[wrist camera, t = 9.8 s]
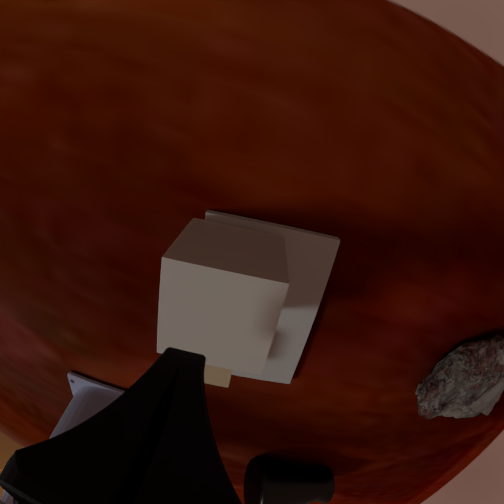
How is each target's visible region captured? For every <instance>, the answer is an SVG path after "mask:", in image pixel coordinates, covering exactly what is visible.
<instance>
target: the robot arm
mask: <svg viewBox="0 0 504 504" xmlns="http://www.w3.org/2000/svg"><path fill="white" fill-rule="evenodd" d="M205 363H206V357H205V356H204V355H202V354H197V353H193V352H189V351H185V350H180V349H176V348H172V347H168V348H166V350H165V351H164V352H163V353H162V355H161V356H160V357H159V358H158V359H157V361H156V362H155V363H154V364H153V365H152V366H151V367H150V368H149V369H148V370H147V371H146V372H145V373H144V374H143V375H142V376H141V377H140V378H139V379H138V380H137V381H136V382H135V383H134V384H133V385H132V386H131V387H130V388H129V389H127V390H126V391H123V390H120V389H117V388H114V387H111V386H108V385H105V384H103V383H100V382H97V381H94V380H91V379H89V378H86V377H83V376H81V375H78V374H76V373H73V372H69V373H68V375H67V376H68V380H69V383H70V387H71V390H72V393H73V398H72V400H71V402H70V403H69V405H68V407H67V408H66V410H65V412H64V413H63V415H62V417H61V419H60V420H59V422H58V424H57V425H56V427H55V429H54V431H53V432H52V434H51V436H50V438H49V439H48V440H45V441H43V442H40V443H37V444H34V445H31V446H28V447H25V448H22V449H19V450H16V451H15V453H14V454H13V456H12V457H11V458H10V459H9V461H8V462H7V464H6V466H5V467H4V469H3V471H2V473H1V474H0V486H1V487H2V488H3V489H4V493H3V495H2V498H1V500H0V504H242V503H241V501H240V499H239V497H238V496H237V494H236V492H235V490H234V488H233V486H232V484H231V481H230V479H229V477H228V475H227V472H226V470H225V468H224V466H223V463H222V460H221V458H220V455H219V452H218V449H217V446H216V443H215V440H214V436H213V433H212V429H211V425H210V420H209V416H208V410H207V404H206V396H205V387H204V369H205Z"/></svg>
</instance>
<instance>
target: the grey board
mask: <svg viewBox="0 0 504 504" xmlns="http://www.w3.org/2000/svg"><path fill="white" fill-rule="evenodd" d="M205 220H207V221H211V222H216V223H221V224H226V225H231V226H236V227H241V228H245V229H250V230H255V231H260V232H264V233H269V234H274V235H278V236H283V237H284V240H285V249H286V258H287V267H288V276H289V287H288V290H287V294H286V297H285V301H284V304H283V307H282V311H281V314H280V317H279V320H278V324H277V327H276V330H275V333H274V337H273V340H272V343H271V346H270V349H269V353H268V356H267V359H266V362H265V365H264V368H263V371H262V374H261V375H258V374H252V373H247V372H241V371H236V370H231V369H226V368H221V367H216V366H211V365H207V364H205V369H204V383H207V384H212V385H217V386H222V387H227V388H228V386H229V382H230V377H231V374H232V375H237V376H242V377H248V378H254V379H260V380H266V381H272V382H279V383H286V384H290V381H291V379H292V377H293V374H294V372H295V369H296V367H297V364H298V361H299V359H300V356H301V354H302V351H303V349H304V346H305V343H306V341H307V338H308V335H309V333H310V330H311V327H312V324H313V322H314V319H315V316H316V313H317V310H318V308H319V305H320V302H321V299H322V296H323V293H324V290H325V287H326V284H327V281H328V278H329V275H330V272H331V269H332V266H333V263H334V260H335V257H336V253H337V250H338V247H339V244H340V239H339V237H336V236H331V235H327V234H322V233H318V232H313V231H309V230H304V229H299V228H295V227H290V226H285V225H281V224H276V223H271V222H266V221H262V220H257V219H252V218H247V217H242V216H237V215H232V214H227V213H222V212H217V211H212V210H207V212H206V215H205Z"/></svg>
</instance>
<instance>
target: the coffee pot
mask: <svg viewBox="0 0 504 504" xmlns="http://www.w3.org/2000/svg"><path fill="white" fill-rule="evenodd" d="M334 488H335V482H334V476H333V473H332V471H331V469H330V468H329V467H328V466H326V465H323V466H321V467H318V468H316V469H314V470H313V469H308V468H303V467H299V466H294V465H290V464H285V463H281V462H277V461H273V460H269V459H265V458H262V457H255V458H253V459H252V460H250V462H249V463H248V466H247V469H246V472H245V478H244V501H245V504H309V503H311V502H314V501H316V502H320V503H328V502H329V501H330V500H331V498H332V497H333V494H334Z"/></svg>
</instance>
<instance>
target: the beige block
mask: <svg viewBox="0 0 504 504" xmlns="http://www.w3.org/2000/svg"><path fill="white" fill-rule="evenodd" d="M288 287H289V276H288V267H287V258H286V249H285V240H284V237H283V236H278V235H274V234H269V233H264V232H260V231H255V230H250V229H245V228H241V227H236V226H231V225H226V224H221V223H216V222H211V221H207V220H202V219H197V218H193V219H192V220H191V221H190V223H189V224H188V225H187V226H186V228H185V229H184V230H183V231H182V233H181V234H180V235H179V236H178V238H177V239H176V240H175V241H174V243H173V244H172V245H171V246H170V248H169V249H168V250H167V251H166V253H165V254H164V255H163V256H162V264H161V277H160V291H159V309H158V331H157V353H161V354H162V353H163V352H164V351H165V350H166V348H168V347H172V348H176V349H180V350H185V351H189V352H193V353H197V354H202V355H204V356H205V357H206V363H205V364H207V365H211V366H216V367H221V368H226V369H231V370H236V371H241V372H247V373H252V374H258V375H261V374H262V371H263V368H264V365H265V362H266V359H267V356H268V353H269V349H270V346H271V343H272V340H273V337H274V333H275V330H276V327H277V324H278V320H279V317H280V314H281V311H282V307H283V304H284V301H285V297H286V294H287V290H288Z"/></svg>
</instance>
